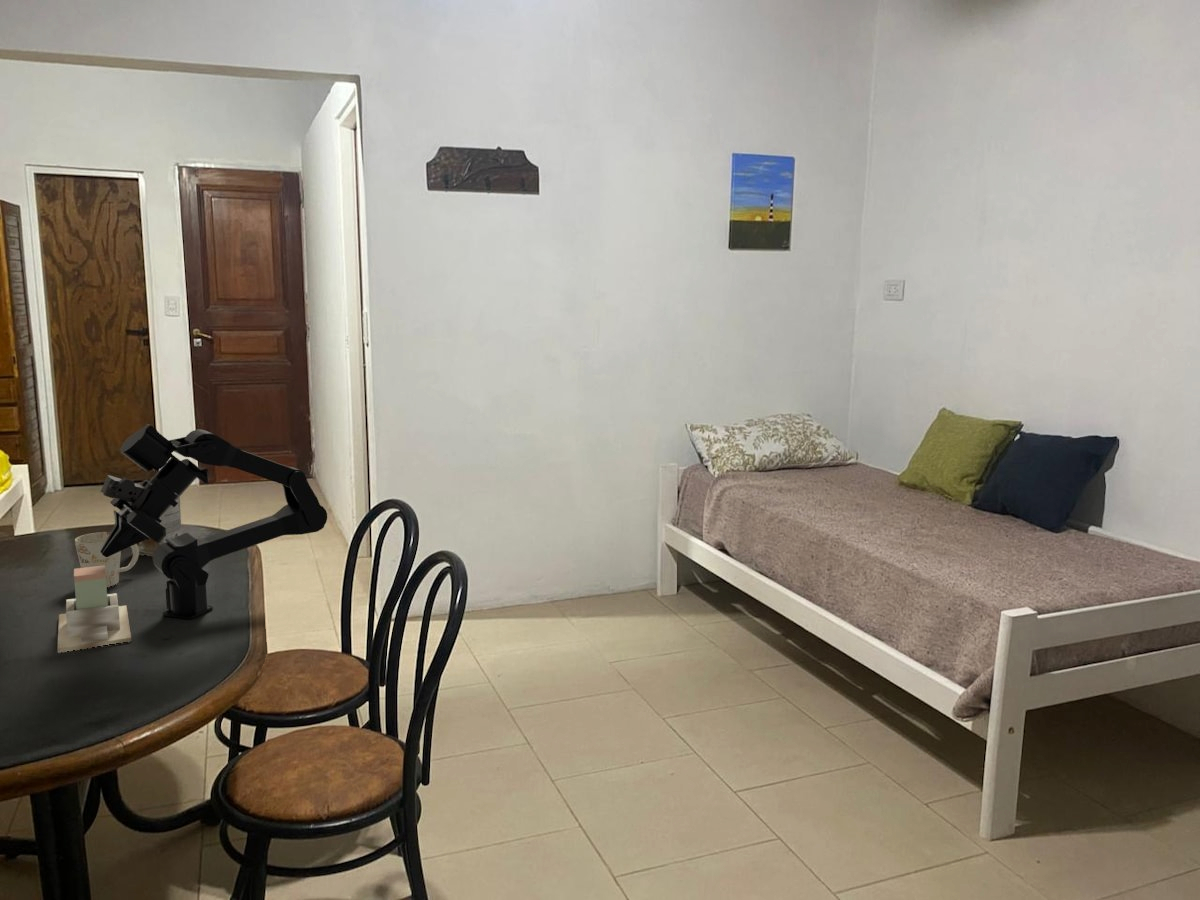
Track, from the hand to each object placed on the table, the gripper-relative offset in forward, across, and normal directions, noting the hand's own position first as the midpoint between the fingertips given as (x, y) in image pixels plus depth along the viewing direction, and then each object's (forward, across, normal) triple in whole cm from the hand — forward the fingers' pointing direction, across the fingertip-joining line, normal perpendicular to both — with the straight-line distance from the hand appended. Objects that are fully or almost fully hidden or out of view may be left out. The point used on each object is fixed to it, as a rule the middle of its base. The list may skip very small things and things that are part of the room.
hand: (103, 554), depth 162 cm
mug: (+6, -28, +13) cm, 31 cm away
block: (+9, 0, +5) cm, 10 cm away
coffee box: (-3, -44, +22) cm, 50 cm away
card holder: (+11, 0, +8) cm, 14 cm away
